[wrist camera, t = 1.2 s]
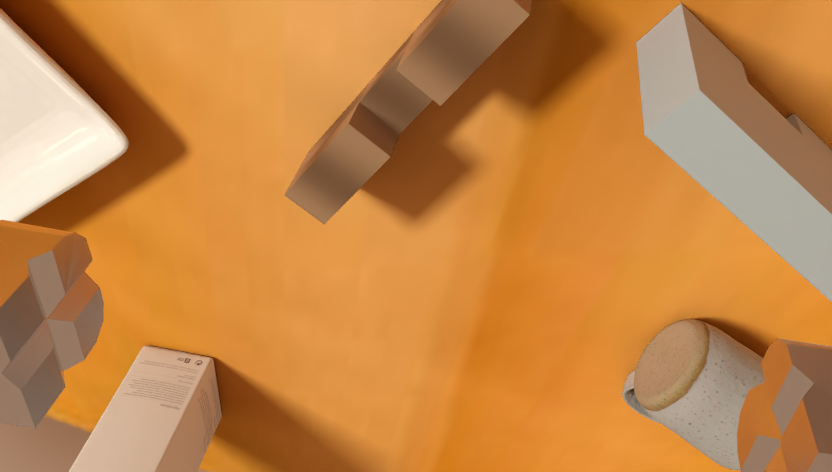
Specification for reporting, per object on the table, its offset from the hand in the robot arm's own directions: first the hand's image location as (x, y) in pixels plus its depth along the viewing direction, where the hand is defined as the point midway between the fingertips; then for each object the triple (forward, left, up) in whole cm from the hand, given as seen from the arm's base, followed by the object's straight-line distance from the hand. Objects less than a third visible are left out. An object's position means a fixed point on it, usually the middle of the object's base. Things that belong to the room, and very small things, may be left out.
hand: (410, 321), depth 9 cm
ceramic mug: (+6, +37, -35) cm, 51 cm away
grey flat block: (-3, +18, -35) cm, 40 cm away
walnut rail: (+13, +8, -35) cm, 38 cm away
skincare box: (+46, +24, -35) cm, 63 cm away
